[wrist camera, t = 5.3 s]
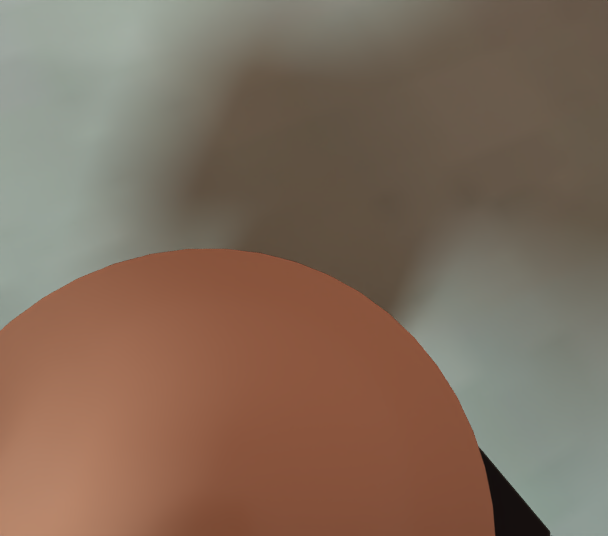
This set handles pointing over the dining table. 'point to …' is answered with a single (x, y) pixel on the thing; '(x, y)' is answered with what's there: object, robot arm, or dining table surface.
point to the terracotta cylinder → (228, 409)
